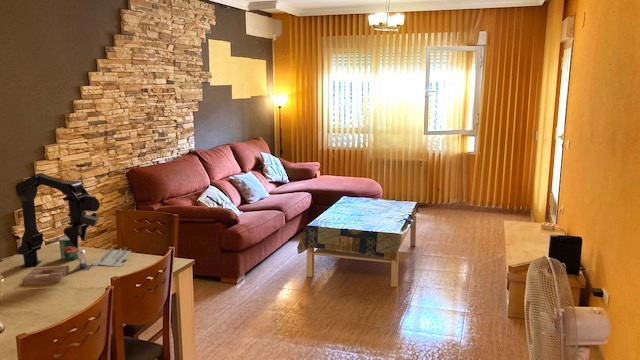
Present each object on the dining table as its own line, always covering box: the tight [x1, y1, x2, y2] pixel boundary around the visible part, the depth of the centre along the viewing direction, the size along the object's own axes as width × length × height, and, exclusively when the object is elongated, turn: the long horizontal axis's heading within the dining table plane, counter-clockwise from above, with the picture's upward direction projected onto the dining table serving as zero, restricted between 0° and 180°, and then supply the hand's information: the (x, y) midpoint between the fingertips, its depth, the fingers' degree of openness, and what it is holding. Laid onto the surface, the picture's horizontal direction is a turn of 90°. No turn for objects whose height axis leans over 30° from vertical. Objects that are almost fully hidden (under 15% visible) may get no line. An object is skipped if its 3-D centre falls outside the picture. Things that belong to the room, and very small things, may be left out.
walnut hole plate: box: [21, 264, 71, 286], centre depth 220 cm, size 14×14×3 cm
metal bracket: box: [91, 247, 132, 268], centre depth 238 cm, size 14×6×15 cm
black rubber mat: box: [72, 264, 94, 272], centre depth 231 cm, size 7×7×1 cm
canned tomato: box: [58, 235, 80, 262], centre depth 242 cm, size 8×8×11 cm
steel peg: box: [77, 249, 88, 269], centre depth 230 cm, size 3×3×8 cm
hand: (80, 243), depth 228 cm, fingers open, 9 cm apart
